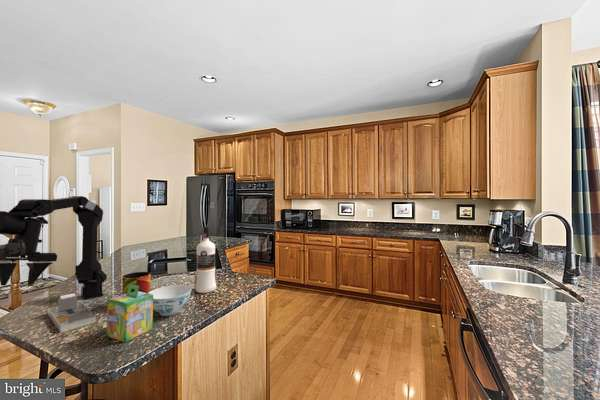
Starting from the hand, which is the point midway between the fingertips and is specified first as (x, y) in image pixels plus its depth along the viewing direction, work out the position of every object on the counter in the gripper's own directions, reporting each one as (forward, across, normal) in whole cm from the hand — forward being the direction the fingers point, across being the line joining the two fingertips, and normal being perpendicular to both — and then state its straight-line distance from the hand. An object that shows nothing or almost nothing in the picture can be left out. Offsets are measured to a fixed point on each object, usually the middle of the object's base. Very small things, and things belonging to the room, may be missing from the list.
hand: (16, 285), depth 81 cm
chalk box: (+15, +37, +5) cm, 40 cm away
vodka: (+7, +43, +44) cm, 62 cm away
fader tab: (+10, +3, +16) cm, 19 cm away
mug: (+10, +21, +28) cm, 37 cm away
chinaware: (+12, +40, +20) cm, 47 cm away
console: (+13, +8, +13) cm, 20 cm away
